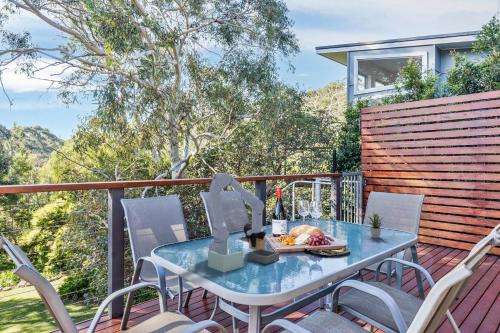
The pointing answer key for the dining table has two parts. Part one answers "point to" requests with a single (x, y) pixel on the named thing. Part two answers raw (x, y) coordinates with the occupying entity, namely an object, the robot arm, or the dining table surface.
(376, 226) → the house plant
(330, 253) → the food plate
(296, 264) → the dining table surface
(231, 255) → the l-shaped corner panel
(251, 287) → the dining table surface
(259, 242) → the small crate
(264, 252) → the big crate
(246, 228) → the pine cone
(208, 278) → the dining table surface
